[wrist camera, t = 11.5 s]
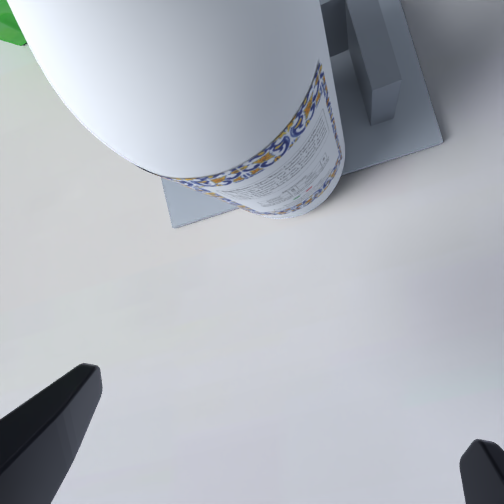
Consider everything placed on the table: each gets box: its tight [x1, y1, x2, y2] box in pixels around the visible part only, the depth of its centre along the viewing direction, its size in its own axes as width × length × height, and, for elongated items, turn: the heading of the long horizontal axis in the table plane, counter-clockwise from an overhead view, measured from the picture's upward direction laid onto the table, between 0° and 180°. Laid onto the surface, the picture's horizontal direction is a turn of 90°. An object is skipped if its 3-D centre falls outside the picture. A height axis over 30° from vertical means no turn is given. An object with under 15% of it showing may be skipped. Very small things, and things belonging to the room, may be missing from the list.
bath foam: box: [7, 0, 345, 219], centre depth 11 cm, size 7×7×20 cm
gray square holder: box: [161, 0, 443, 228], centre depth 19 cm, size 11×16×5 cm
